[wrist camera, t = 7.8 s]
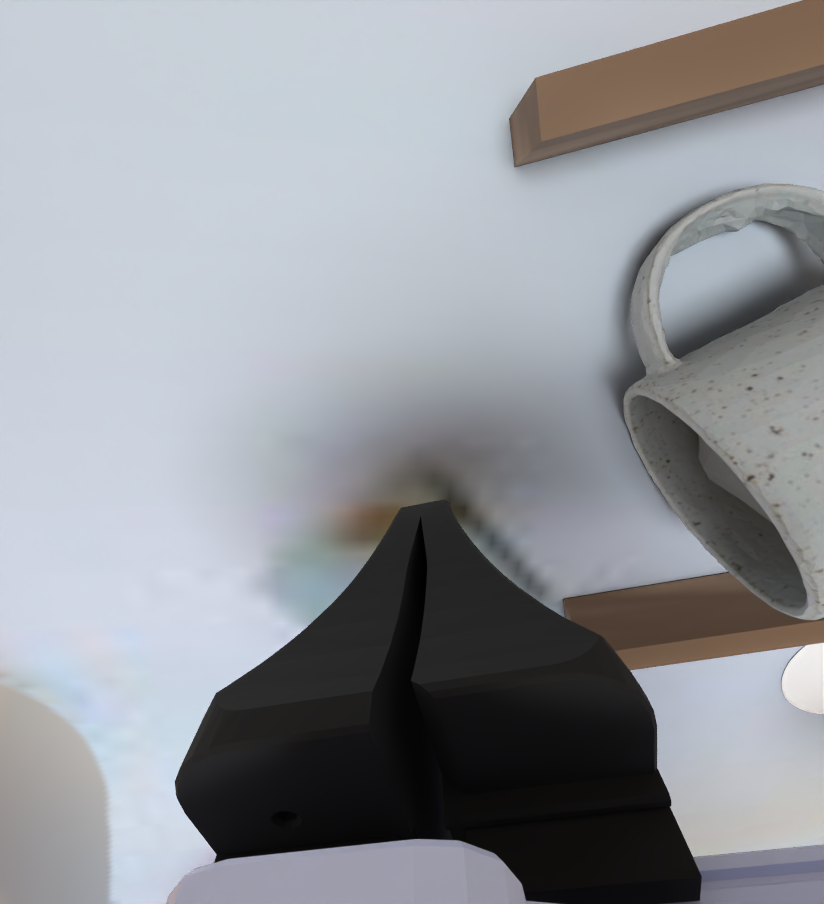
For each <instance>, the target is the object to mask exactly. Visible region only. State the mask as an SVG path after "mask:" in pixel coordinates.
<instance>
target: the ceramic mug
mask: <svg viewBox="0 0 824 904" xmlns="http://www.w3.org/2000/svg"><path fill="white" fill-rule="evenodd" d="M752 220H759V221H764V222H768V223H771V224H775V225H778V226H781V227H784V228H785V229H787V230H788V231H790V232H792V233H793V234H794V235H795V236H796V237H797V238H798V239H800V240H803V241H805V242H806V243H807V244H808V246H809V247H810V248H811V249H812V250H813V252H814V253H815V254H817V255H818V256H819V257H820V259H821V260H822V262H823V264H824V192H823V191H820V190H818V189H815V188H810V187H804V186H798V185H792V184H761V185H756V186H752V187H747V188H743V189H738V190H735V191H732V192H730V193H727V194H725V195H723V196H720V197H718V198H715V199H713V200H711V201H709V202H707V203H706V204H704V205H702V206H700V207H698V208H696V209H694V210H692V211H691V212H689V213H688V214H687V215H685V216H684V217H683V218H682V219H680V220H679V221H678V222H677V223H675V224H674V225H673V226H671V227H670V228H669V230H668V231H667V232H666V233H665V234H664V236H663V237H662V238H661V239H660V241H659V242H658V243H657V245H656V246H655V247H654V248H653V250H652V251H651V253H650V254H649V255H648V257H647V258H646V260H645V261H644V263H643V264H642V266H641V267H640V270H639V273H638V276H637V279H636V282H635V285H634V289H633V293H632V298H631V320H632V326H633V332H634V337H635V341H636V344H637V347H638V351H639V354H640V358H641V360H642V362H643V363H644V365H645V367H646V376H645V377H644V378H643V379H641V380H639V381H637V382H636V383H635V384H633V385H632V386H631V387H629V388H628V390H627V391H626V393H625V396H624V399H623V404H624V418H625V422H626V424H627V426H628V429H629V431H630V434H631V437H632V441H633V444H634V446H635V448H636V450H637V452H638V454H639V456H640V457H641V459H642V461H643V463H644V465H645V467H646V470H647V471H648V473H649V474H650V475H651V476H652V479H653V481H654V482H655V484H656V485H657V487H658V488H659V489H660V491H661V492H662V494H663V495H664V497H665V499H666V500H667V502H668V503H669V505H670V506H671V507H672V509H673V510H674V511H675V512H676V514H677V515H678V516H679V518H680V519H681V520H682V522H683V523H684V525H685V526H686V527H687V529H688V530H689V531H690V532H691V533H692V534H693V535H694V536H695V537H696V538H697V539H698V540H699V541H700V543H701V544H702V545H703V546H704V548H705V549H706V550H707V551H708V552H709V553H710V554H711V555H712V556H714V557H715V558H716V559H717V561H718V562H719V563H720V564H721V565H722V566H723V567H725V568H726V570H727V571H728V572H729V573H730V574H731V575H733V576H734V577H735V578H736V579H738V580H739V581H740V582H741V583H742V584H743V585H744V586H745V587H746V588H747V589H749V590H750V591H751V592H752V593H753V594H755V595H756V596H758V597H759V598H760V599H762V600H763V601H764V602H766V603H767V604H768V605H770V606H771V607H772V608H774V609H776V610H778V611H780V612H782V613H785V614H787V615H790V616H792V617H796V618H799V619H804V620H818V619H821V618H824V284H823V285H821V286H819V287H816V288H813V289H811V290H808V291H807V292H805V293H804V294H803V295H801V296H798V297H796V298H795V299H793V300H791V301H789V302H787V303H785V304H783V305H781V306H778V307H777V308H776V309H775V310H774V311H772V312H771V313H769V314H767V315H765V316H763V317H761V318H759V319H758V320H756V321H754V322H752V323H749V324H747V325H746V326H743V327H741V328H739V329H737V330H735V331H733V332H731V333H729V334H726V335H724V336H722V337H720V338H718V339H715V340H713V341H711V342H710V343H708V344H707V345H705V346H703V347H701V348H700V349H697V350H695V351H692V352H690V353H688V354H687V355H685V356H683V357H681V358H680V359H677V358H675V357H674V356H673V355H672V353H671V352H670V351H669V349H668V346H667V343H666V341H665V332H664V329H663V326H662V322H661V315H660V307H659V289H660V286H661V283H662V280H663V276H664V272H665V268H666V267H667V266H668V264H669V260H670V256H672V255H675V254H677V253H679V252H681V251H683V250H685V249H686V248H688V247H690V246H692V245H694V244H696V243H698V242H700V241H702V240H704V239H707V238H709V237H712V236H714V235H717V234H719V233H722V232H735V231H738V230H740V229H742V228H743V227H745V226H747V225H748V224H749V223H750V222H751V221H752Z"/></svg>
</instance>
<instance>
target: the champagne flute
mask: <svg viewBox="0 0 824 904" xmlns="http://www.w3.org/2000/svg"><path fill="white" fill-rule="evenodd" d="M782 691H783V693H784V696H785V698H786V699H787V700H788V701H789V702H790V703H791V704H792V705H794V706H795V707H797V708H799V709H802V710H804V711H807V712H812V713H817V714H824V643H818V644H811V645H806V646H805V647H803V648H802V649H801V650H800V651H799V652H798V653H797V654H796V655H795V656H794V657H793V658H792V660H791V661H790V662H789V664H788V665H787V667H786V669H785V671H784V673H783V677H782Z"/></svg>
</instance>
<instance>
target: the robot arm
mask: <svg viewBox="0 0 824 904" xmlns="http://www.w3.org/2000/svg"><path fill="white" fill-rule="evenodd" d="M175 787H176V796H177V799H178V801H179V803H180V805H181V806H182V808H183V810H184V812H185V814H186V815H187V816H188V818H189V819H190V820H191V822H192V823H193V824H194V826H195V827H196V828H197V829H198V831H199V832H200V833H201V835H202V836H203V837H204V838H205V840H206V841H207V842H208V844H209V845H210V846H211V848H212V849H213V850H214V851H215V853H216V854H217V856H216V859H215V862H214V863H213V864H209V865H206V866H202V867H199V868H196V869H194V870H193V871H191V872H190V873H188V874H187V875H186V876H184V877H183V879H182V880H181V881H180V882H179V884H178V885H177V886H176V887H175V888H174V890H173V891H172V892H171V893H170V895H169V897H168V899H167V902H166V904H824V845H814V846H804V847H793V848H783V849H772V850H762V851H751V852H741V853H730V854H720V855H709V856H699V857H693V856H692V854H691V852H690V850H689V848H688V845H687V843H686V841H685V839H684V837H683V835H682V832H681V830H680V828H679V826H678V824H677V821H676V819H675V817H674V815H673V813H672V811H671V808H670V806H671V798H670V795H669V792H668V790H667V788H666V786H665V784H664V782H663V779H662V777H661V775H660V773H659V771H658V769H657V724H656V719H655V714H654V710H653V708H652V706H651V704H650V702H649V700H648V698H647V696H646V695H645V693H644V691H643V690H642V688H641V687H640V685H639V684H638V682H637V681H636V679H635V678H634V676H633V675H632V673H631V672H630V670H629V669H628V668H627V666H626V665H625V664H624V662H623V661H622V659H621V658H620V657H619V656H618V654H617V653H616V652H615V651H614V649H613V648H612V647H611V646H610V644H609V643H608V642H607V641H606V640H605V638H604V637H602V636H601V635H599V634H597V633H595V632H593V631H591V630H589V629H587V628H585V627H583V626H581V625H579V624H577V623H575V622H573V621H570V620H568V619H566V618H564V617H562V616H561V615H559V614H557V613H556V612H554V611H552V610H551V609H549V608H547V607H546V606H544V605H543V604H542V603H540V602H539V601H537V600H536V599H534V598H533V597H532V596H530V595H529V594H527V593H526V592H524V591H523V590H522V589H520V588H519V587H518V586H516V585H515V584H514V583H513V582H512V581H510V580H509V579H508V578H507V577H506V576H504V575H503V574H502V573H501V572H500V571H499V570H498V569H497V568H496V567H495V566H494V565H493V564H492V563H491V562H490V561H489V560H488V559H487V558H486V557H485V556H484V555H483V554H482V553H481V552H480V551H479V549H478V548H477V547H476V546H475V545H474V544H473V542H472V541H471V540H470V538H469V537H468V536H467V534H466V533H465V532H464V530H463V529H462V528H461V526H460V524H459V523H458V521H457V519H456V518H455V516H454V514H453V512H452V510H451V506H450V502H448V501H446V500H440V501H434V502H429V503H424V504H419V505H413V506H408V507H403V508H401V509H400V510H399V512H398V513H397V515H396V517H395V518H394V520H393V522H392V524H391V525H390V527H389V529H388V530H387V532H386V534H385V535H384V537H383V539H382V540H381V542H380V543H379V545H378V546H377V548H376V550H375V551H374V553H373V554H372V556H371V557H370V559H369V560H368V561H367V563H366V564H365V565H364V567H363V568H362V569H361V571H360V572H359V573H358V575H357V576H356V577H355V579H354V580H353V581H352V582H351V583H350V585H349V586H348V587H347V588H346V589H345V590H344V591H343V592H342V594H341V595H340V596H339V597H338V598H337V599H336V600H335V601H334V602H333V603H332V604H331V605H330V606H329V607H328V608H327V609H326V610H325V611H324V612H323V613H322V614H321V615H320V616H319V617H317V618H316V619H315V620H314V621H313V622H312V623H311V624H310V625H309V626H308V627H307V628H306V629H305V630H303V631H302V632H301V633H300V634H299V635H297V636H296V637H295V638H294V639H293V640H291V641H290V642H289V643H288V644H286V645H285V646H284V647H283V648H281V649H280V650H279V651H277V652H276V653H275V654H273V655H272V656H271V657H269V658H268V659H267V660H265V661H264V662H263V663H261V664H260V665H258V666H257V667H255V668H254V669H252V670H251V671H249V672H248V673H246V674H245V675H243V676H242V677H240V678H239V679H237V680H236V681H234V682H233V683H231V684H230V685H228V686H227V687H225V688H224V689H222V690H220V691H219V692H217V693H216V695H215V696H214V698H213V700H212V702H211V704H210V706H209V708H208V710H207V712H206V714H205V716H204V718H203V720H202V722H201V724H200V727H199V729H198V731H197V733H196V735H195V737H194V739H193V742H192V744H191V746H190V748H189V750H188V752H187V754H186V757H185V759H184V761H183V763H182V765H181V767H180V770H179V772H178V775H177V777H176V780H175Z"/></svg>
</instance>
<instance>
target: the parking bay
mask: <svg viewBox="0 0 824 904" xmlns="http://www.w3.org/2000/svg"><path fill="white" fill-rule="evenodd" d="M822 84H824V0H802V1H799V2H795V3H792V4H789V5H785V6H782V7H778V8H775V9H771V10H768V11H764V12H761V13H757V14H754V15H751V16H747V17H744V18H740V19H737V20H733V21H730V22H726V23H723V24H719V25H716V26H713V27H709V28H706V29H702V30H699V31H695V32H692V33H688V34H685V35H682V36H678V37H675V38H671V39H668V40H664V41H661V42H657V43H654V44H650V45H647V46H644V47H640V48H637V49H633V50H630V51H626V52H623V53H619V54H616V55H612V56H609V57H606V58H602V59H599V60H595V61H592V62H588V63H585V64H581V65H578V66H574V67H571V68H568V69H564V70H561V71H557V72H554V73H550V74H547V75H543V76H540V77H537V78H535V79H534V81H533V83H532V84H531V86H530V87H529V89H528V90H527V92H526V93H525V95H524V97H523V98H522V100H521V101H520V103H519V104H518V106H517V108H516V109H515V111H514V112H513V114H512V115H511V117H510V118H509V120H510V129H511V138H512V147H513V156H514V165H515V167H517V166H521V165H525V164H529V163H532V162H536V161H540V160H543V159H547V158H551V157H555V156H558V155H562V154H566V153H569V152H573V151H577V150H581V149H584V148H588V147H592V146H595V145H599V144H603V143H607V142H610V141H614V140H618V139H622V138H625V137H629V136H633V135H636V134H640V133H644V132H648V131H651V130H655V129H659V128H662V127H666V126H670V125H674V124H677V123H681V122H685V121H688V120H692V119H696V118H700V117H703V116H707V115H711V114H714V113H718V112H722V111H726V110H729V109H733V108H737V107H740V106H744V105H748V104H752V103H755V102H759V101H763V100H766V99H770V98H774V97H778V96H781V95H785V94H789V93H792V92H796V91H800V90H804V89H807V88H811V87H815V86H818V85H822ZM563 603H564V612H565V618H566V619H568V620H570V621H573V622H575V623H577V624H579V625H581V626H583V627H585V628H587V629H589V630H591V631H593V632H595V633H597V634H599V635H601V636H602V637H604V638H605V640H606V641H607V642H608V643H609V644H610V646H611V647H612V648H613V649H614V651H615V652H616V653H617V654H618V656H619V657H620V658H621V659H622V661H623V662H624V664H625V665H626V666H627V668H628V669H629V670H634V669H642V668H649V667H656V666H663V665H670V664H677V663H684V662H691V661H698V660H705V659H712V658H719V657H726V656H733V655H741V654H748V653H755V652H762V651H769V650H776V649H783V648H790V647H797V646H804V645H811V644H818V643H824V618H821V619H818V620H804V619H799V618H796V617H792V616H790V615H787V614H785V613H782V612H780V611H778V610H776V609H774V608H772V607H771V606H770V605H768V604H767V603H766V602H764V601H763V600H762V599H760V598H759V597H758V596H756V595H755V594H753V593H752V592H751V591H750V590H749V589H747V588H746V587H745V586H744V585H743V584H742V583H741V582H740V581H739V580H738V579H736V578H735V577H734V576H733V575H731V574H730V573H723V574H717V575H711V576H705V577H699V578H692V579H686V580H680V581H674V582H667V583H661V584H655V585H649V586H643V587H636V588H630V589H624V590H618V591H612V592H605V593H599V594H593V595H587V596H581V597H574V598H568V599H563Z"/></svg>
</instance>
